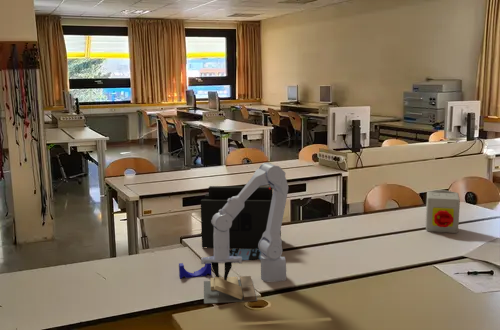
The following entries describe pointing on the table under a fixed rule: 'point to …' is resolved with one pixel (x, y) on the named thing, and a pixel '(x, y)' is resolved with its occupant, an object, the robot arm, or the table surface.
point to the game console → (238, 219)
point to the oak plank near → (228, 287)
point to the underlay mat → (219, 295)
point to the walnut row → (247, 288)
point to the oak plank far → (230, 279)
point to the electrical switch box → (442, 211)
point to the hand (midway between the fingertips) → (221, 282)
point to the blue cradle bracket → (201, 272)
